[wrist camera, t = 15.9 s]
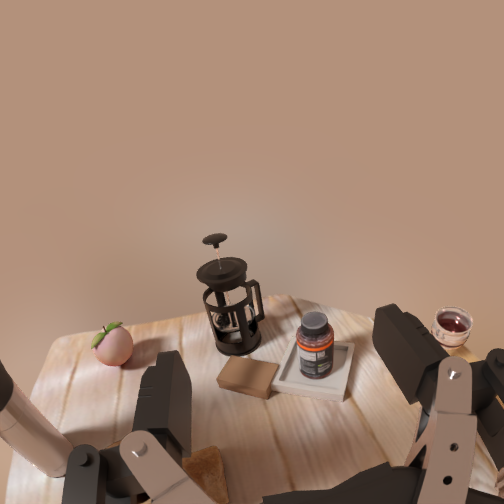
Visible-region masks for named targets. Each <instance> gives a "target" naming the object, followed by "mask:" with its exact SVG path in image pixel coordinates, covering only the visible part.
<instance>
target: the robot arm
mask: <svg viewBox="0 0 504 504" xmlns="http://www.w3.org/2000/svg"><path fill="white" fill-rule="evenodd" d="M372 338H373V344H374V347H375V349H376V351H377V352H378V354H379V356H380V357H381V359H382V360H383V362H384V363H385V365H386V367H387V368H388V370H389V371H390V373H391V375H392V376H393V378H394V380H395V381H396V383H397V384H398V386H399V388H400V389H401V391H402V393H403V394H404V396H405V398H406V399H407V401H408V403H409V404H410V405H411V404H413V403H415V402H418V401H419V402H420V403H421V407H420V411H419V416H418V421H417V426H416V431H415V435H414V439H413V443H412V447H411V450H410V452H409V454H408V456H407V459H406V461H405V464H404V466H395V467H391V466H390V464H389V462H385V463H383V464H381V465H378V466H375V467H373V468H370V469H368V470H365V471H362V472H359V473H358V474H356V475H355V476H353V477H351V478H350V479H348V480H346V481H345V482H343V483H341V484H339V485H337V486H336V487H334V488H332V489H328V490H310V491H292V492H287V493H282V494H276V495H270V496H264V497H262V498H263V503H260V504H504V409H503V408H502V406H501V405H500V403H499V402H498V400H497V399H496V396H497V395H498V396H499V397H500V399H501V400H502V402H503V403H504V349H499V348H497V349H493V350H491V351H490V352H489V353H488V355H487V357H486V359H485V360H482V361H477V362H472V363H468V362H467V361H466V360H465V359H463V358H461V357H457V356H450V355H449V354H448V353H447V352H446V351H445V349H444V348H443V347H442V346H441V345H440V343H439V342H438V341H437V340H436V339H435V338H434V336H433V335H432V334H431V333H429V331H428V329H427V328H426V327H424V325H423V324H422V323H421V322H420V320H419V319H418V318H417V317H415V316H413V315H412V314H410V313H408V312H404V313H403V312H402V311H401V310H400V309H399V308H398V306H397V305H396V304H389V305H387V306H383V307H380V308H377V309H376V313H375V320H374V328H373V336H372ZM138 397H139V398H138V400H137V405H136V411H135V417H134V423H133V429H132V432H131V433H129V434H128V435H126V436H125V437H124V438H123V440H122V441H121V444H120V445H118V446H115V447H111V448H107V449H104V450H100V451H98V450H97V449H95V448H94V447H93V446H91V445H86V444H84V445H79V446H77V447H75V448H73V445H72V444H71V443H70V442H69V441H68V440H67V439H66V438H65V437H64V436H63V435H62V434H61V433H60V432H59V431H58V430H57V429H56V428H55V427H54V426H53V425H52V424H51V423H50V422H49V421H48V420H47V419H46V418H45V417H44V416H43V415H42V414H41V412H40V411H39V410H38V409H37V408H36V407H35V406H34V405H33V404H32V402H31V401H30V400H29V399H28V398H27V397H26V396H25V394H24V393H23V392H22V391H21V390H20V388H19V387H18V386H17V384H16V383H15V382H14V381H13V379H12V378H11V377H10V375H9V374H8V373H7V371H6V370H5V368H4V366H3V364H2V363H1V361H0V437H1V438H2V439H3V440H4V441H5V442H6V443H7V444H9V445H10V446H11V447H12V448H13V449H14V450H15V451H17V452H18V453H19V454H20V455H21V456H23V457H24V458H25V459H26V460H27V461H29V462H30V463H31V464H32V465H34V466H35V467H36V468H38V469H39V470H40V471H42V472H43V473H45V474H46V475H48V476H50V477H60V476H63V475H65V481H64V488H63V496H62V504H137V494H140V493H144V492H146V493H147V494H148V495H149V497H150V498H151V504H218V503H217V502H216V501H215V500H214V499H213V498H212V497H211V496H209V495H208V494H207V493H206V492H205V491H204V490H203V489H202V488H201V487H200V486H199V485H198V484H197V483H196V482H195V481H194V480H193V479H192V477H191V476H190V475H189V474H188V473H187V472H186V471H185V470H184V469H183V468H182V458H190V457H191V401H192V386H191V380H190V376H189V374H188V372H187V370H186V367H185V365H184V363H183V361H182V358H181V356H180V354H179V352H178V351H177V350H174V351H167V352H159V353H158V355H157V361H156V366H149V367H148V368H147V370H146V371H145V373H144V374H143V376H142V378H141V384H140V389H139V394H138ZM476 431H478V433H479V435H480V436H481V438H482V440H483V442H484V444H485V446H486V447H487V449H488V451H489V453H490V455H491V457H492V459H493V461H494V463H495V465H496V467H497V469H498V471H499V473H498V477H497V482H496V483H495V489H496V490H497V491H499V495H498V496H495V495H491V494H488V493H485V492H481V491H478V490H475V489H472V488H469V482H470V477H471V471H472V465H473V458H474V451H475V442H476Z"/></svg>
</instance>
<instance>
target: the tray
mask: <svg viewBox="0 0 504 504" xmlns="http://www.w3.org/2000/svg"><path fill="white" fill-rule="evenodd" d="M354 346H355V343H350V342H339V341H334V356H333V368H332V371H331V372H330V374H329V375H327V376H326V377H324V378H321V379H309V378H306V377H305V376H303V375H302V374H301V372H300V369H299V361H298V351H297V339H296V336H292V338H291V340H290V342H289V345H288V347H287V349H286V351H285V354H284V356H283V358H282V360H281V362H280V365H279V367H278V369H277V371H276V373H275V375H274V378H273V380H272V382H271V388H272V391H277V392H282V393H287V394H293V395H298V396H304V397H310V398H316V399H323V400H330V401H338V402H343V399H344V395H345V390H346V386H347V382H348V377H349V373H350V368H351V363H352V358H353V353H354Z"/></svg>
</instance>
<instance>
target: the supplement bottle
mask: <svg viewBox="0 0 504 504" xmlns="http://www.w3.org/2000/svg"><path fill="white" fill-rule="evenodd" d="M296 339H297V351H298V361H299V369H300V372H301V374H302V375H303V376H305V377H306V378H309V379H321V378H324V377H326V376H327V375H329V374H330V372H331V371H332V368H333V356H334V331H333V328H332V327H331V325H330V324H328V319H327V317H326V315H325V314H323V313H320V312H310V313H307V314H305V315H304V316H303V317H302V319H301V326H300V327H299V328H298V330H297V333H296Z"/></svg>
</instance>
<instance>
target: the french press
mask: <svg viewBox="0 0 504 504" xmlns="http://www.w3.org/2000/svg"><path fill="white" fill-rule="evenodd" d="M226 239H227V235H225V234H222V233H218V234H212V235H209V236H207V237H205V238H204V239H203V241H202V242H203V243H204V244H208V245H211V244H213V246H214V248H215V249H216V252H217V255H218V259H216V260H213V261H210V262H208V263H206V264H204V265H203V266H202V267H200V268H199V269H198V271H197V279H198V280H199V281H200V282H202V283H205V284H206V285H207V286H209V288H208V289H207V290H206V291H205V292H204V294H203V301H204V304H205V308H206V311H207V314H208V318H209V321H210V324H211V328H212V331H213V334H214V337H215V341H216V347H217V349H218V351H219V352H220V353H222V354H224V355H226V356H231V355H233V356H238V357H239V356H244V355H247V354H249V353H251V352H253V351H254V350H255V349H256V348H257V347H258V346H259V345H260V342H261V334H260V332H259V328H258V323H257V322H259V321H261V320H263V319H264V318H265V316H264V310H263V304H262V298H261V292H260V286H259V283H258V282H257V281H255V280H254V279H253V280H251V281H248V282H245V280H246V271H247V263H246V262H245V261H244V260H242V259H240V258H234V257H226V258H220V256H219V251H218V248H219V243H220V242H223V241H224V240H226ZM239 286H241V287H245V288H246V293H247V297H246V298H245V299H244V300H243V301H241V302H239V303H237V304H230V300H229V295H228V291H230V290H233V289H235V288H237V287H239ZM253 286H254V288H255V294H256V300H257V305H258V311H259V314H258V315H257V316H256V315H255V310H254V305H253V299H252V290H251V287H253ZM212 292H215V296H216V299H217V304H218V307H216V306H212V305H209V304H208V303H206V299H207V297H208V296H209V295H210V294H211V293H212ZM223 292H226V295H227V299H228V304H229V305H226V301H225V297H224V293H223ZM248 304H249V306H247V305H248ZM210 311H211V312H214V314H213V315H212V316H211V313H210ZM249 330H250V331H251V332H253V334H254V335H253V336H252V337H250V332H249ZM238 331H240V333H241V338H242V342H239V343H224V342H222V338H223V337H224V336H225V334H227V333H232V332H238Z"/></svg>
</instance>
